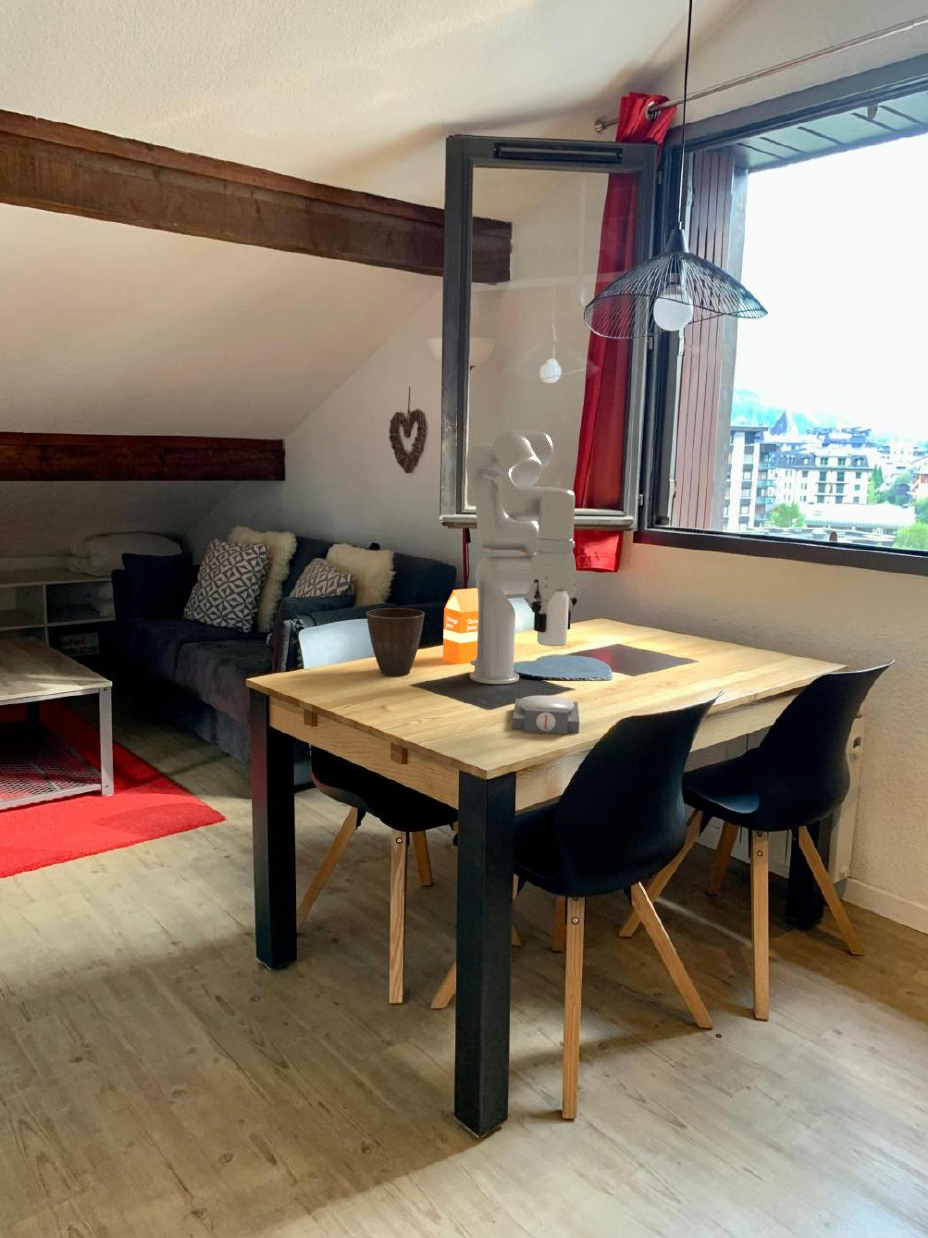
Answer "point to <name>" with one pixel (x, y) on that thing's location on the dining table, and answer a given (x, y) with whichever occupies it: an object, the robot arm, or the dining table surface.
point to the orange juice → (461, 626)
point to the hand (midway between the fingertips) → (552, 629)
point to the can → (555, 620)
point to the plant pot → (395, 638)
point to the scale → (546, 715)
